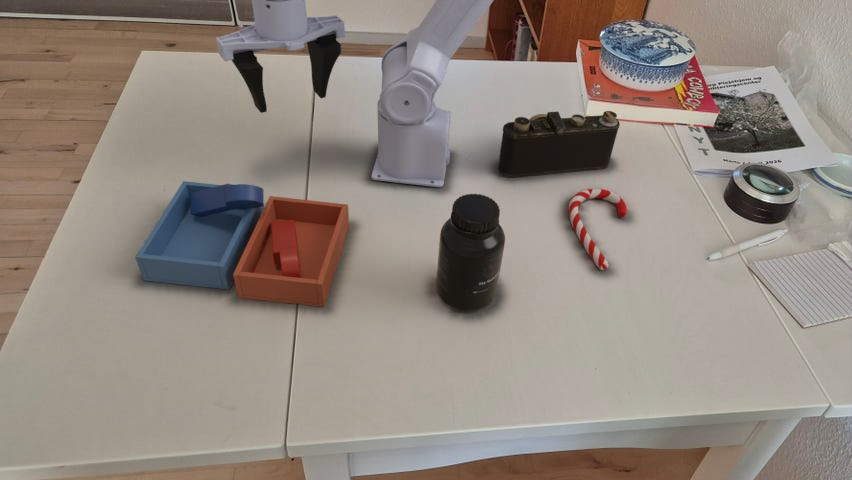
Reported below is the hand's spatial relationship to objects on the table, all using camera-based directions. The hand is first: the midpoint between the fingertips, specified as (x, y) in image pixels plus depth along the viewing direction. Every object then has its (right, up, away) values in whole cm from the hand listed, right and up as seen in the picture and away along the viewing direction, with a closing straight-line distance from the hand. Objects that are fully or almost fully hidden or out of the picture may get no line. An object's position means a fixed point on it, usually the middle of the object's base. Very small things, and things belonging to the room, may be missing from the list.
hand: (290, 101), depth 82 cm
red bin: (+3, -20, -6) cm, 21 cm away
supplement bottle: (+22, -23, -7) cm, 33 cm away
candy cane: (+38, -16, +2) cm, 42 cm away
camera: (+33, -6, +12) cm, 36 cm away
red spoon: (+3, -19, -8) cm, 20 cm away
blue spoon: (-5, -14, -7) cm, 16 cm away
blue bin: (-8, -18, -6) cm, 20 cm away
